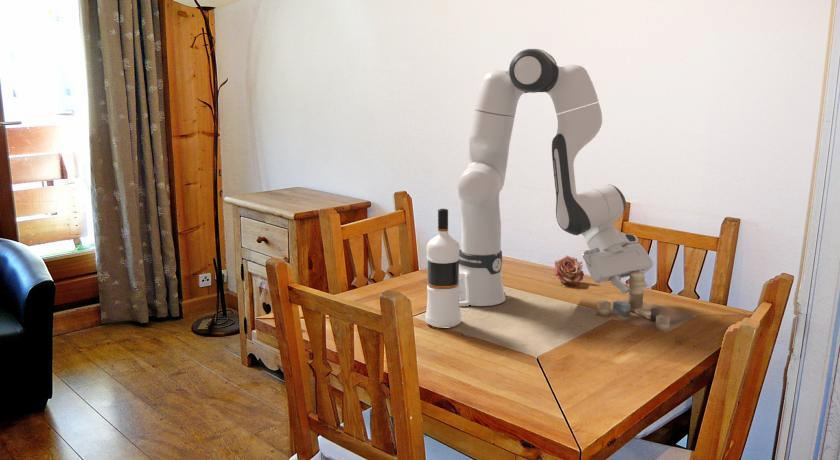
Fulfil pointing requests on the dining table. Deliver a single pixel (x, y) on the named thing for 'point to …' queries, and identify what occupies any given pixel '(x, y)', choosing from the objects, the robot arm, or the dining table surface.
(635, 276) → the leg
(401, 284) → the dining table surface
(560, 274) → the flower
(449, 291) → the vodka
